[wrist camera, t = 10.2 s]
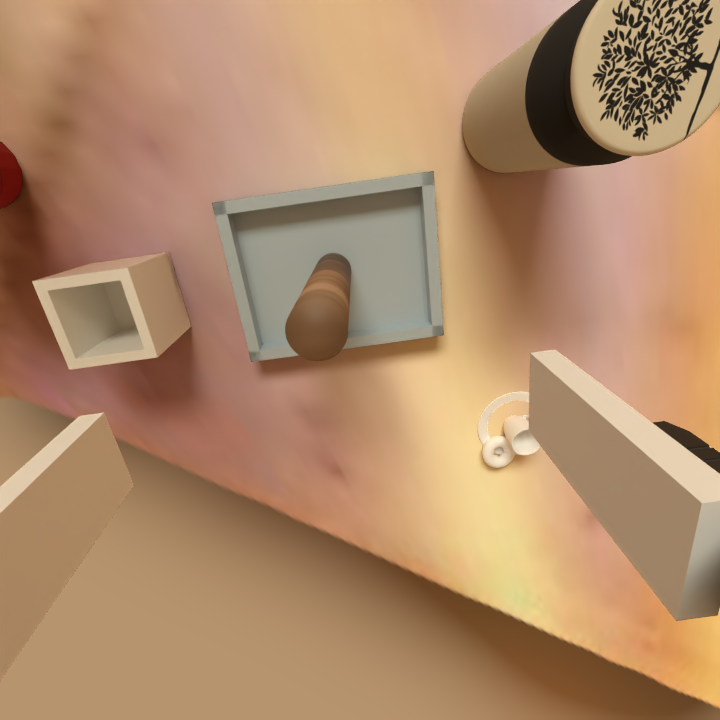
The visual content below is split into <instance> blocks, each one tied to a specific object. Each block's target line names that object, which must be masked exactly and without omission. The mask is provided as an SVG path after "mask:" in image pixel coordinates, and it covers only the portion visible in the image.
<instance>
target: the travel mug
mask: <svg viewBox="0 0 720 720" xmlns="http://www.w3.org/2000/svg"><path fill="white" fill-rule="evenodd" d="M719 104H720V0H580V1H579V2H578V3H576V4H575V5H574V6H573V7H571V8H570V9H569V10H567V11H566V12H565V13H564V14H562V15H561V16H560V17H558V18H557V19H556V20H555V21H553V22H552V23H551V24H550V25H548V26H547V27H546V28H544V29H543V30H542V31H541V32H539V33H538V34H537V35H535V36H534V37H533V38H532V39H530V40H529V41H528V42H526V43H525V44H524V45H523V46H521V47H520V48H519V49H517V50H516V51H515V52H514V53H512V54H511V55H510V56H509V57H507V58H506V59H505V60H503V61H502V62H501V63H500V64H498V65H497V66H496V67H494V68H493V69H492V70H491V71H489V72H488V73H487V74H486V75H484V76H483V77H482V78H481V79H480V80H479V82H478V83H477V84H476V85H475V87H474V88H473V90H472V91H471V93H470V95H469V97H468V99H467V102H466V105H465V109H464V113H463V121H462V128H463V136H464V140H465V144H466V146H467V148H468V151H469V152H470V154H471V155H472V157H473V158H474V159H475V160H476V161H477V162H478V163H479V164H480V165H481V166H483V167H484V168H486V169H488V170H491V171H494V172H498V173H513V172H524V171H536V170H547V169H558V168H570V167H581V166H592V165H604V164H611V163H615V162H619V161H622V160H625V159H627V158H629V157H631V156H643V155H650V154H654V153H658V152H661V151H664V150H666V149H668V148H671V147H673V146H675V145H676V144H678V143H680V142H682V141H683V140H685V139H686V138H688V137H689V136H690V135H691V134H693V133H694V132H695V131H696V130H697V129H699V128H700V127H701V126H702V125H703V124H704V123H705V122H706V121H707V120H708V118H709V117H710V116H711V115H712V114H713V112H714V111H715V110H716V109H717V107H718V106H719Z"/></svg>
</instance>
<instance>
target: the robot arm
mask: <svg viewBox="0 0 720 720" xmlns="http://www.w3.org/2000/svg"><path fill="white" fill-rule="evenodd" d="M528 430H529V432H530V433H531V434H532V435H533V437H534V438H535V439H536V441H537V442H538V443H539V444H540V446H541V447H542V448H543V450H544V451H545V452H546V454H547V455H548V456H549V457H550V459H551V460H552V461H553V463H554V464H555V465H556V466H557V468H558V469H559V470H560V472H561V473H562V474H563V475H564V477H565V478H566V479H567V481H568V482H569V483H570V485H571V486H572V487H573V488H574V490H575V491H576V492H577V494H578V495H579V496H580V497H581V499H582V500H583V501H584V503H585V504H586V505H587V506H588V508H589V509H590V510H591V512H592V513H593V514H594V515H595V517H596V518H597V519H598V521H599V522H600V523H601V525H602V526H603V527H604V528H605V530H606V531H607V532H608V534H609V535H610V536H611V537H612V539H613V540H614V541H615V543H616V544H617V545H618V546H619V548H620V549H621V550H622V552H623V553H624V554H625V555H626V557H627V558H628V559H629V561H630V562H631V563H632V565H633V566H634V567H635V568H636V570H637V571H638V572H639V574H640V575H641V576H642V577H643V579H644V580H645V581H646V583H647V584H648V585H649V586H650V588H651V589H652V590H653V592H654V593H655V594H656V596H657V597H658V598H659V599H660V601H661V602H662V603H663V605H664V606H665V607H666V608H667V610H668V611H669V612H670V614H671V615H672V616H673V617H674V619H675V620H676V621H679V620H686V619H694V618H701V617H708V616H716V615H718V612H719V608H720V453H719V452H718V451H717V450H715V449H714V448H710V447H709V445H708V444H707V443H705V442H704V441H702V440H701V439H700V438H698V437H697V436H695V435H694V434H692V433H691V432H690V431H687V430H685V429H682V428H680V427H677V426H675V425H673V424H670V423H668V422H665V421H661V422H654V423H652V422H650V421H649V420H648V419H647V418H645V417H644V416H643V415H641V414H640V413H639V412H637V411H636V410H635V409H633V408H632V407H631V406H629V405H628V404H627V403H625V402H624V401H623V400H621V399H620V398H619V397H617V396H616V395H615V394H614V393H612V392H611V391H610V390H608V389H607V388H606V387H604V386H603V385H602V384H600V383H599V382H598V381H596V380H595V379H594V378H592V377H591V376H590V375H588V374H587V373H586V372H584V371H583V370H582V369H581V368H579V367H578V366H577V365H575V364H574V363H573V362H571V361H570V360H569V359H567V358H566V357H565V356H563V355H562V354H561V353H559V352H558V351H557V350H555V349H554V350H547V351H540V352H533V353H530V384H529V429H528ZM133 486H134V484H133V481H132V479H131V476H130V474H129V472H128V469H127V467H126V464H125V462H124V459H123V457H122V455H121V452H120V450H119V447H118V445H117V443H116V440H115V438H114V435H113V433H112V430H111V428H110V426H109V423H108V421H107V418H106V416H105V414H104V413H98V414H90V415H83V416H79V417H78V418H77V419H76V420H74V421H73V422H72V423H71V424H70V425H69V426H68V427H67V428H65V429H64V430H63V431H62V432H61V433H60V434H59V435H58V436H57V437H55V438H54V439H53V440H52V441H51V442H50V443H49V444H47V445H46V446H45V447H44V448H43V449H42V450H41V451H40V452H39V453H37V454H36V455H35V456H34V457H33V458H32V459H31V460H29V461H28V462H27V463H26V464H25V465H24V466H23V467H22V468H21V469H19V470H18V471H17V472H16V473H15V474H14V475H13V476H12V477H10V478H9V479H8V480H7V481H6V482H5V483H4V484H3V485H2V486H0V681H1V679H2V678H3V676H4V675H5V673H6V672H7V670H8V669H9V668H10V666H11V665H12V663H13V662H14V660H15V659H16V657H17V656H18V654H19V653H20V651H21V650H22V648H23V647H24V645H25V644H26V643H27V641H28V640H29V638H30V637H31V635H32V634H33V632H34V631H35V629H36V628H37V626H38V625H39V624H40V622H41V621H42V619H43V618H44V616H45V615H46V613H47V612H48V610H49V609H50V607H51V606H52V605H53V603H54V602H55V600H56V599H57V597H58V595H59V594H60V593H61V591H62V590H63V588H64V587H65V585H66V584H67V583H68V581H69V579H70V578H71V577H72V575H73V574H74V572H75V571H76V569H77V568H78V566H79V565H80V563H81V562H82V561H83V559H84V558H85V556H86V555H87V553H88V552H89V550H90V549H91V547H92V546H93V544H94V543H95V541H96V540H97V538H98V537H99V536H100V534H101V533H102V531H103V530H104V528H105V527H106V525H107V524H108V522H109V521H110V519H111V518H112V517H113V515H114V514H115V512H116V511H117V509H118V508H119V506H120V505H121V503H122V502H123V500H124V499H125V498H126V496H127V495H128V493H129V492H130V490H131V489H132V487H133Z"/></svg>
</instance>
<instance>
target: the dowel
mask: <svg viewBox="0 0 720 720" xmlns="http://www.w3.org/2000/svg"><path fill="white" fill-rule="evenodd" d="M350 287H351V266H350V263H349V261H348V260H347V259H346V258H345V257H344V256H342V255H341V254H338V253H329V254H326V255H324V256H323V257H321V258H320V260H319V261H318V263H317V265H316V266H315V268H314V270H313V272H312V274H311V276H310V277H309V279H308V281H307V283H306V285H305V287H304V289H303V290H302V292H301V294H300V296H299V298H298V300H297V301H296V303H295V305H294V307H293V309H292V311H291V312H290V314H289V316H288V318H287V321H286V325H285V335H286V339H287V341H288V343H289V345H290V347H291V348H292V349H293V350H294V351H295V352H296V353H297V354H298V355H300V356H301V357H303V358H306V359H309V360H313V361H322V360H327V359H330V358H332V357H334V356H335V355H337V354H338V353H339V352H340V351H341V350H342V349H343V347H344V345H345V344H346V341H347V337H348V324H349V306H350Z"/></svg>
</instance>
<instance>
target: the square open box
mask: <svg viewBox="0 0 720 720" xmlns="http://www.w3.org/2000/svg"><path fill="white" fill-rule="evenodd" d="M32 283H33V285H34V288H35V290H36V292H37V295H38V297H39V299H40V302H41V304H42V307H43V309H44V311H45V314H46V316H47V318H48V321H49V323H50V325H51V328H52V330H53V332H54V335H55V337H56V339H57V342H58V344H59V346H60V349H61V351H62V353H63V356H64V358H65V360H66V363H67V365H68V368H69V370H71V369H78V368H86V367H93V366H100V365H107V364H114V363H121V362H128V361H136V360H143V359H150V358H157V357H159V356H160V355H161V354H162V353H163V352H164V351H165V350H166V349H167V348H168V347H169V346H171V345H172V344H173V343H174V342H175V341H176V340H177V339H178V338H179V337H180V336H181V335H182V334H183V333H185V332H186V331H187V330H188V329H189V328H190V327H191V325H190V321H189V318H188V315H187V311H186V308H185V304H184V301H183V298H182V294H181V291H180V288H179V284H178V281H177V277H176V274H175V271H174V267H173V264H172V261H171V257H170V254H169V252H166V253H159V254H152V255H145V256H138V257H131V258H124V259H117V260H110V261H103V262H96V263H91V264H87V265H84V266H81V267H77V268H74V269H71V270H67V271H64V272H61V273H58V274H54V275H51V276H48V277H44V278H41V279H38V280H35V281H32Z"/></svg>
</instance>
